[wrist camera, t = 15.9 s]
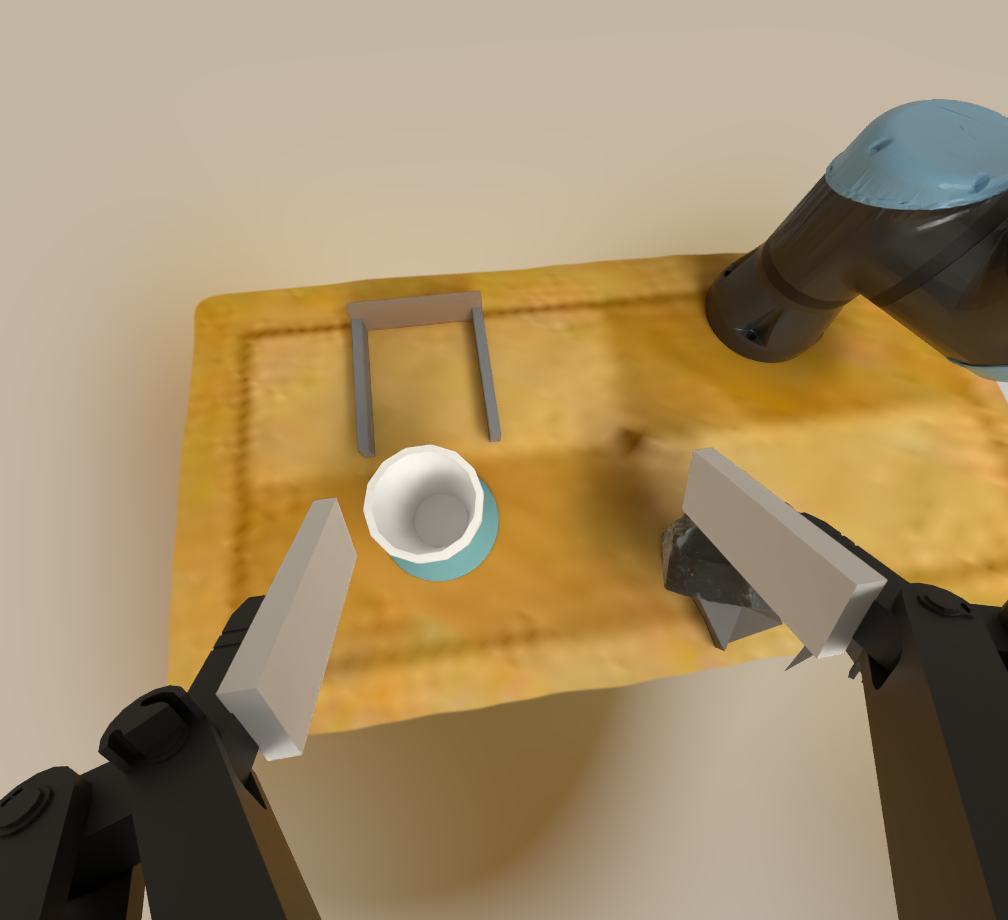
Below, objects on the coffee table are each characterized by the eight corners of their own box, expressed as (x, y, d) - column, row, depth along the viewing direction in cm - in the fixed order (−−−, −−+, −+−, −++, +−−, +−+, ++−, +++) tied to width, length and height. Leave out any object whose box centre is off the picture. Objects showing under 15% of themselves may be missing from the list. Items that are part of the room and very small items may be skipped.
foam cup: (427, 581, 41) (402, 587, 29) (383, 510, 43) (341, 487, 30) (500, 530, 43) (506, 515, 30) (455, 464, 45) (443, 424, 32)
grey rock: (723, 491, 46) (868, 444, 29) (782, 623, 42) (990, 663, 25) (612, 524, 44) (695, 496, 27) (663, 665, 40) (797, 739, 23)
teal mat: (490, 458, 46) (490, 457, 45) (506, 571, 42) (506, 571, 42) (378, 472, 44) (377, 471, 44) (386, 589, 41) (385, 589, 41)
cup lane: (480, 311, 51) (480, 290, 47) (500, 440, 46) (501, 429, 42) (357, 323, 50) (346, 302, 46) (364, 457, 45) (353, 447, 41)
